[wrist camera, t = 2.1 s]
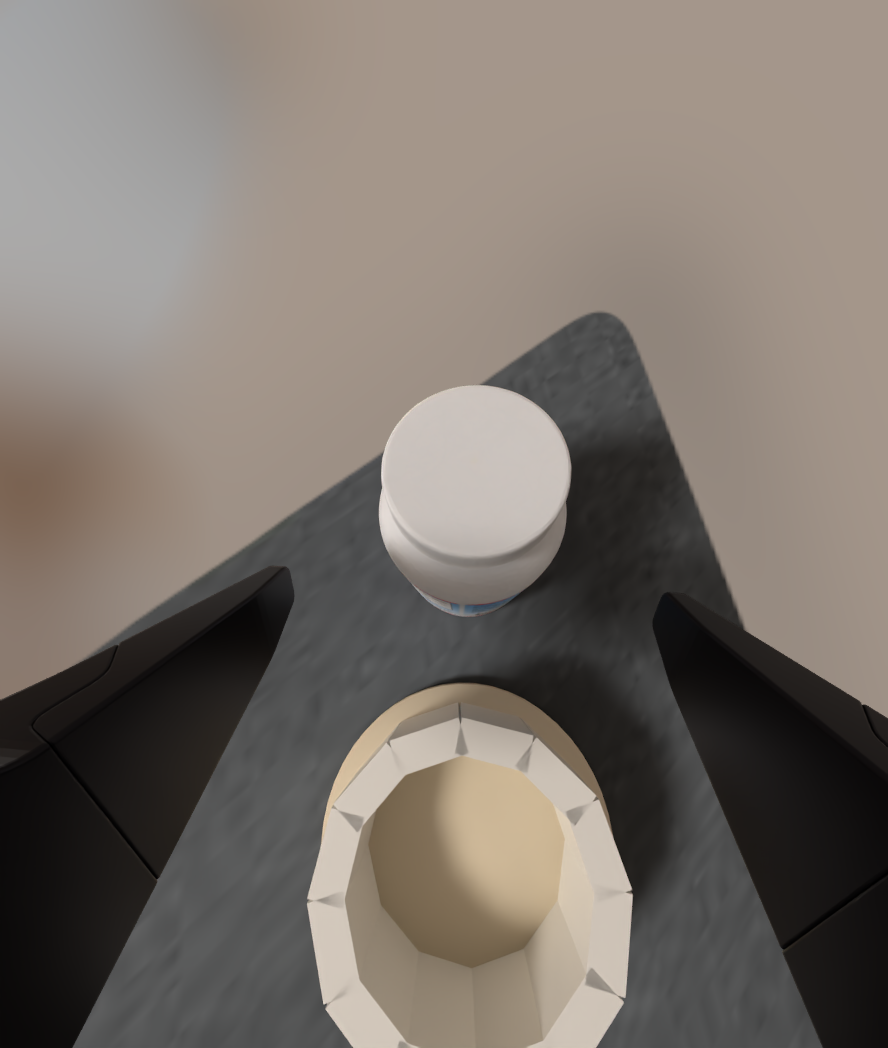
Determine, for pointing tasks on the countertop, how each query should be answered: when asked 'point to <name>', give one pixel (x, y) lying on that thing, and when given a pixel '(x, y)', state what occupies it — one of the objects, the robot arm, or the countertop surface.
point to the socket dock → (469, 881)
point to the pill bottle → (474, 497)
